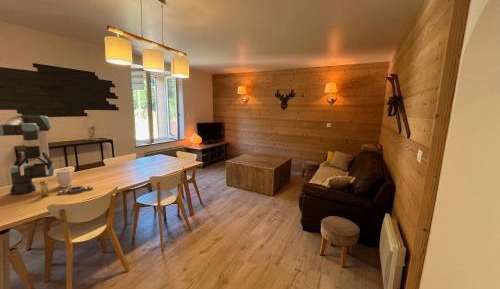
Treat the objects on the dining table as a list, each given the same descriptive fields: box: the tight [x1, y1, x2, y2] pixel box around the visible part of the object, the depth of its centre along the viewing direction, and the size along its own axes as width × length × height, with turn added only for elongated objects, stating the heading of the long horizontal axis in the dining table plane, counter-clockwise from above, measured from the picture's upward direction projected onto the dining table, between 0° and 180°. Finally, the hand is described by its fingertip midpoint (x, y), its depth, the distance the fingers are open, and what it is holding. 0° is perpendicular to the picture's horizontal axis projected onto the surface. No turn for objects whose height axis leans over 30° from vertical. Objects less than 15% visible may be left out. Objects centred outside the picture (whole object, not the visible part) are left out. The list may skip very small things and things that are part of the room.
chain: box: [57, 185, 94, 195], centre depth 189 cm, size 10×24×3 cm, turn 129°
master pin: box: [39, 180, 49, 198], centre depth 176 cm, size 5×5×12 cm
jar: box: [56, 168, 73, 188], centre depth 198 cm, size 11×10×15 cm
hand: (35, 174), depth 154 cm, fingers open, 13 cm apart
